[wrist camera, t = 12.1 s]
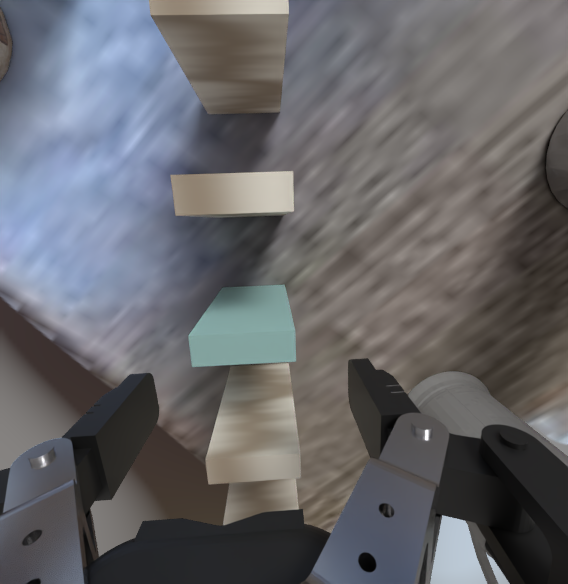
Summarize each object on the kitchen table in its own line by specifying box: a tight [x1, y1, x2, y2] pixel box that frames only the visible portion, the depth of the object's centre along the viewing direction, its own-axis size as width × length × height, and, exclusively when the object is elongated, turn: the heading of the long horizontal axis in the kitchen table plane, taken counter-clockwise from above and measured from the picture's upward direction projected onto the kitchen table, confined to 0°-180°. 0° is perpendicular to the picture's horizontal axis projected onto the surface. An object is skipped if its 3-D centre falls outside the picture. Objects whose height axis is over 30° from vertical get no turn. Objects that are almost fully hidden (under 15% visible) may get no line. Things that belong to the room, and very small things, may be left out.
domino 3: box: [188, 285, 296, 367], centre depth 19 cm, size 5×2×10 cm, turn 92°
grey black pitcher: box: [408, 371, 568, 584], centre depth 20 cm, size 9×14×15 cm, turn 1°
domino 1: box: [149, 0, 289, 114], centre depth 15 cm, size 5×2×10 cm, turn 92°
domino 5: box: [223, 478, 299, 525], centre depth 22 cm, size 5×2×10 cm, turn 92°
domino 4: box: [206, 363, 301, 484], centre depth 20 cm, size 5×2×10 cm, turn 92°
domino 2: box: [171, 171, 294, 218], centre depth 17 cm, size 5×2×10 cm, turn 92°
